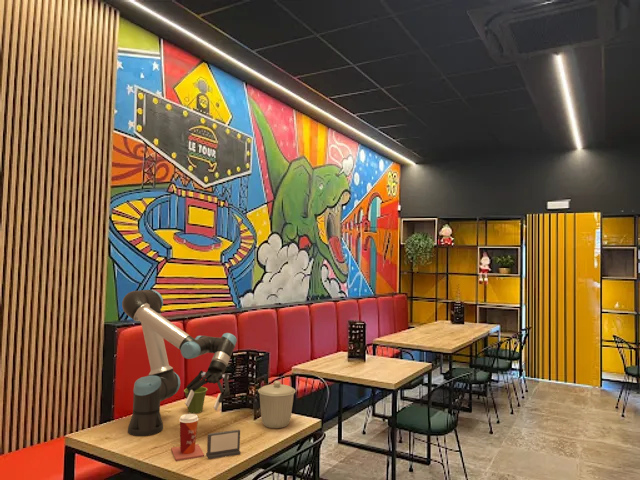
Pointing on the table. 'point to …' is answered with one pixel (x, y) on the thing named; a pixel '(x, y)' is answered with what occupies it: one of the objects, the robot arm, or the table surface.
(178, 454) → the coaster
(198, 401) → the plant pot
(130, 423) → the robot arm
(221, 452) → the menu holder
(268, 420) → the canister
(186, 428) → the paper cup
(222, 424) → the table surface
